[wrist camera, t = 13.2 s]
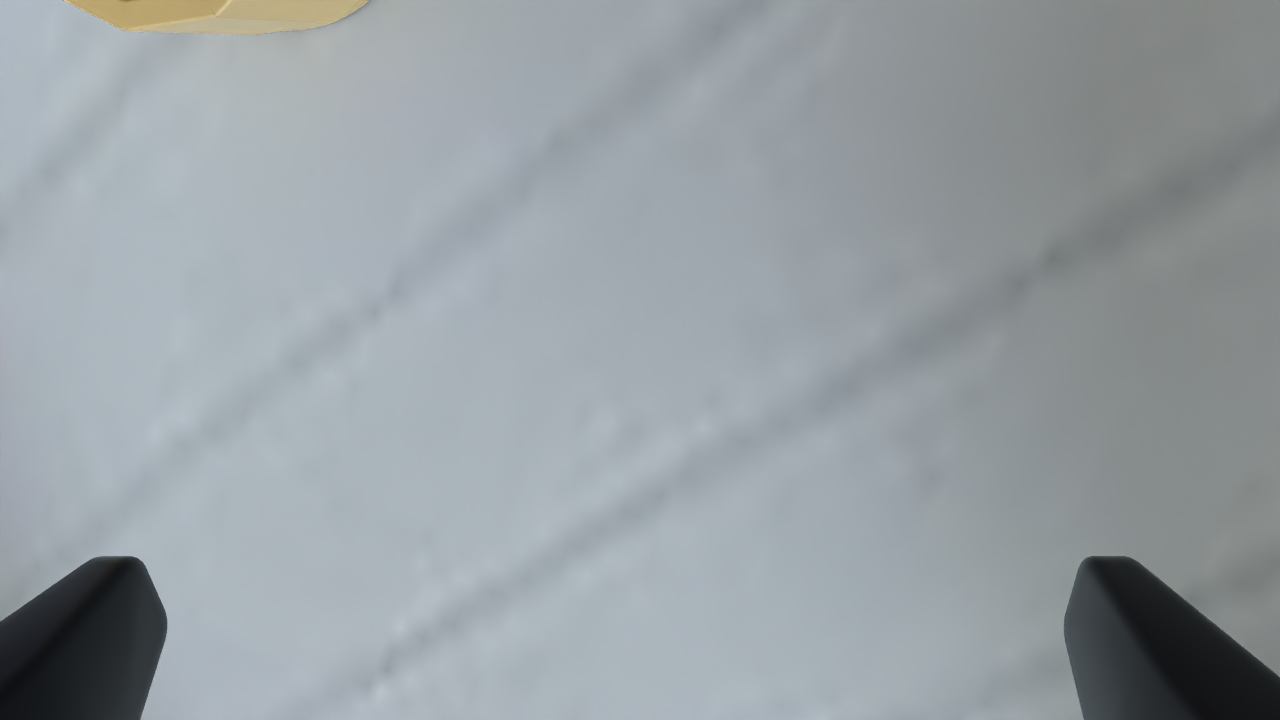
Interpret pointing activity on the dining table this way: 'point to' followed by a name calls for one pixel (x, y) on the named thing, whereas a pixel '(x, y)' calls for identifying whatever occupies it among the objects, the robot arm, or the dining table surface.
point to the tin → (218, 15)
